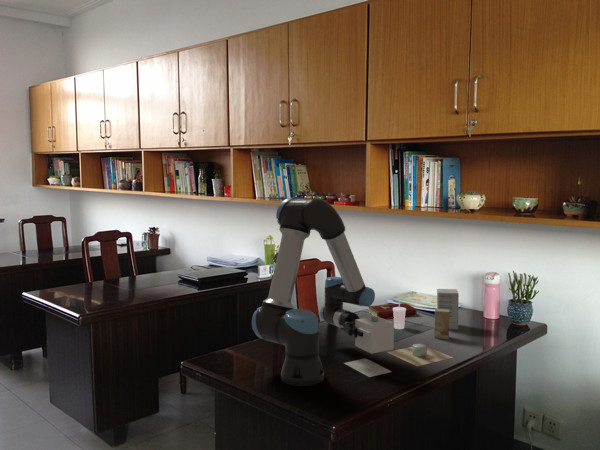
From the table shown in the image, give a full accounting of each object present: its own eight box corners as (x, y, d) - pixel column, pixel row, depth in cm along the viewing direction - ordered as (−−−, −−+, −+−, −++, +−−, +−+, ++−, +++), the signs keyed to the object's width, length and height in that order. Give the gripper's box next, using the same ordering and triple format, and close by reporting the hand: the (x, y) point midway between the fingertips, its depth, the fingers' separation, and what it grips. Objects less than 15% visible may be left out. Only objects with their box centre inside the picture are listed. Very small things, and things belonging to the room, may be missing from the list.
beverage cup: (401, 330, 243) (401, 300, 242) (389, 328, 247) (390, 298, 246) (408, 327, 248) (408, 297, 246) (396, 325, 252) (397, 295, 250)
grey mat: (369, 378, 188) (369, 377, 188) (343, 364, 202) (343, 363, 202) (405, 369, 195) (405, 368, 195) (378, 356, 209) (378, 355, 209)
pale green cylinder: (418, 358, 205) (419, 349, 205) (409, 354, 210) (409, 345, 210) (430, 355, 208) (430, 346, 208) (420, 351, 213) (420, 342, 213)
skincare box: (433, 338, 231) (434, 310, 230) (433, 335, 235) (434, 308, 234) (449, 339, 229) (449, 311, 228) (449, 336, 233) (449, 309, 232)
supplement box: (458, 330, 243) (459, 293, 241) (437, 329, 245) (437, 292, 243) (456, 324, 252) (457, 288, 251) (436, 323, 254) (436, 288, 252)
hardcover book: (416, 316, 268) (416, 308, 267) (377, 320, 263) (377, 311, 262) (405, 310, 279) (406, 302, 279) (368, 313, 274) (368, 305, 274)
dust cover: (371, 353, 191) (371, 322, 190) (355, 345, 200) (355, 316, 199) (393, 349, 196) (394, 319, 195) (376, 342, 205) (377, 313, 204)
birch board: (417, 367, 197) (417, 366, 197) (386, 353, 213) (386, 352, 213) (453, 359, 206) (453, 357, 206) (421, 346, 221) (421, 344, 221)
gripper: (369, 326, 219) (405, 340, 200) (322, 333, 208) (355, 349, 189) (370, 308, 218) (406, 320, 199) (322, 314, 207) (355, 328, 188)
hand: (381, 334), depth 194 cm, fingers closed on dust cover, 10 cm apart
